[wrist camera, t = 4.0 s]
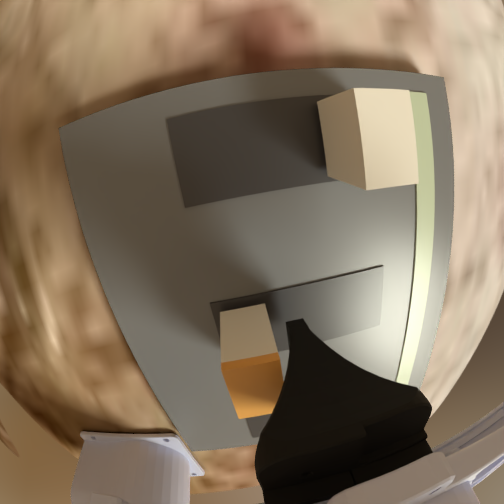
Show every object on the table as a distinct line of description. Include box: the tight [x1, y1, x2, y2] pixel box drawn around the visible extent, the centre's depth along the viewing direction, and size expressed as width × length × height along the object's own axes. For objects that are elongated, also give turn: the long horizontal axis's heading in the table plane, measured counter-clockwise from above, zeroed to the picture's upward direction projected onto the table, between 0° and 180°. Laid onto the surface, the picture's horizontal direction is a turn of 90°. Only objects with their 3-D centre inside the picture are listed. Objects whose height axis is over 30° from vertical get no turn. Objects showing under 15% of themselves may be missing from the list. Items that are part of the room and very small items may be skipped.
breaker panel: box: [59, 68, 454, 451], centre depth 13 cm, size 18×22×5 cm
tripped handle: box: [220, 303, 284, 419], centre depth 11 cm, size 2×3×4 cm, turn 10°
